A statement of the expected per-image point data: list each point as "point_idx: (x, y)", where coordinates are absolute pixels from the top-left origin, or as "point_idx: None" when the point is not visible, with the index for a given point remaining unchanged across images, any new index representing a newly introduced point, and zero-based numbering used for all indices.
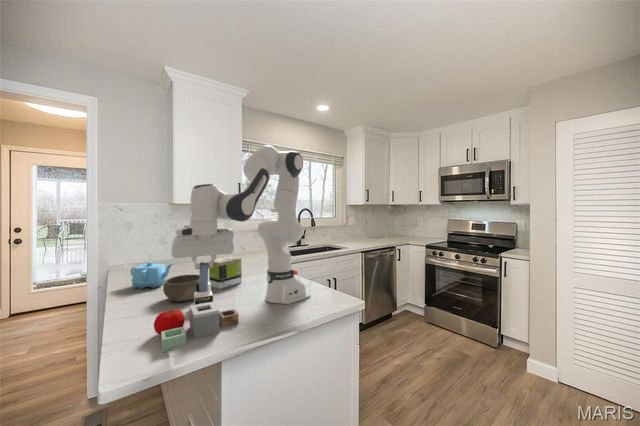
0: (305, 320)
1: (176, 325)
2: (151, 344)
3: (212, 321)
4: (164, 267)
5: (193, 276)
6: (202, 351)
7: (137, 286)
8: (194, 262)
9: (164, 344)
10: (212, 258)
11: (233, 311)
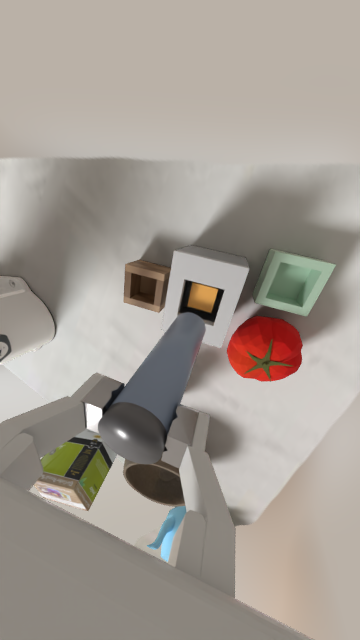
0: (7, 163)
1: (264, 319)
2: (313, 317)
3: (199, 251)
4: (162, 545)
5: (136, 484)
6: (257, 191)
7: None
8: (213, 479)
9: (325, 261)
10: (42, 445)
11: (129, 288)
